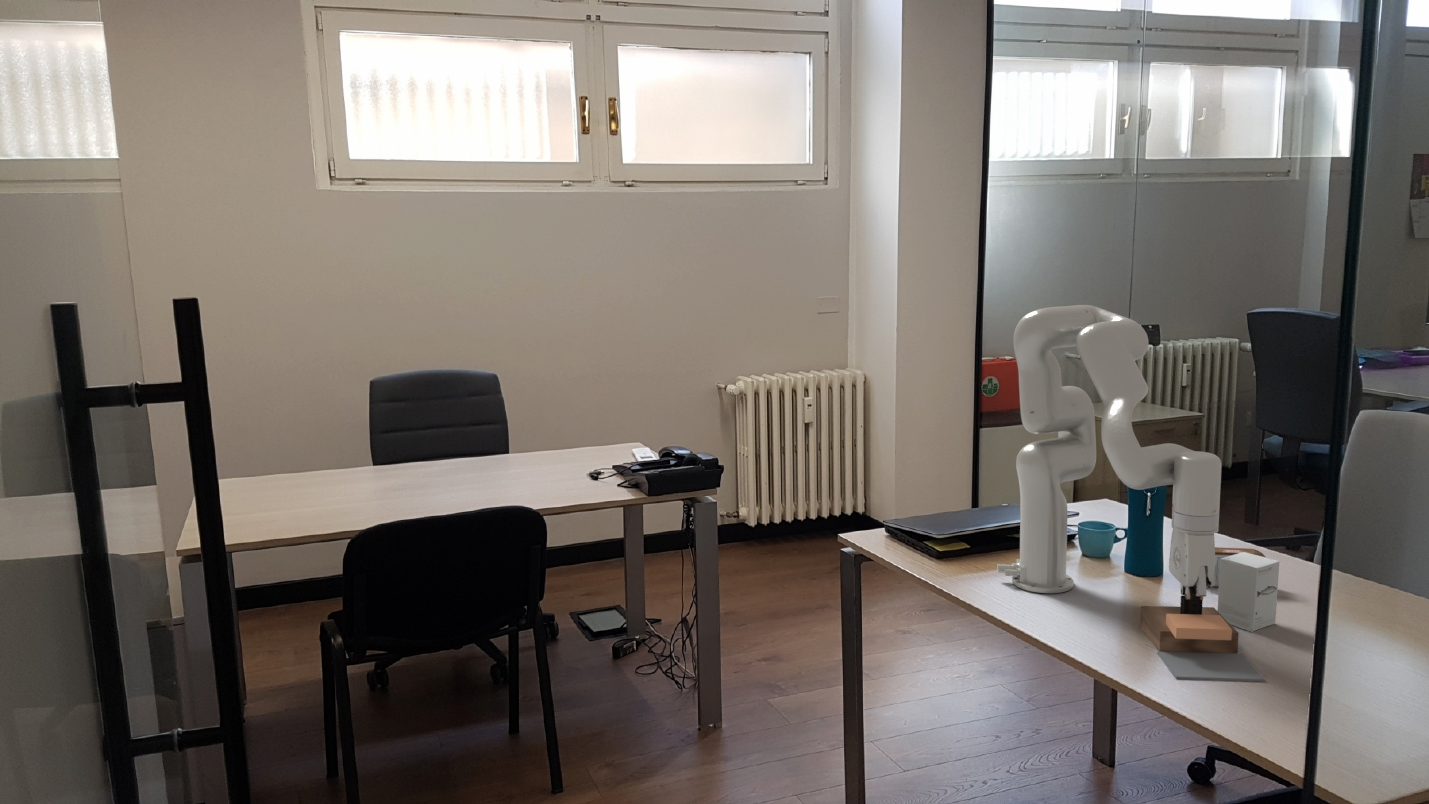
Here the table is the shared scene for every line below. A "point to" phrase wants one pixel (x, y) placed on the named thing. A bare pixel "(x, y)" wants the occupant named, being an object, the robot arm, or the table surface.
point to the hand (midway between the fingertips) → (1190, 617)
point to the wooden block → (1166, 642)
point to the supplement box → (1248, 590)
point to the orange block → (1198, 627)
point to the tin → (1225, 553)
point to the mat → (1210, 666)
